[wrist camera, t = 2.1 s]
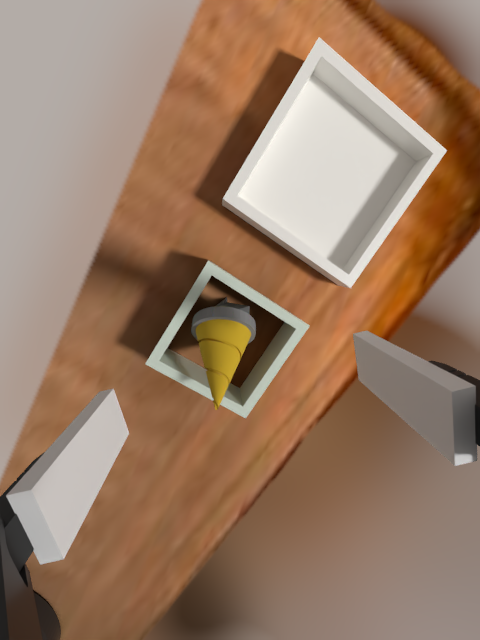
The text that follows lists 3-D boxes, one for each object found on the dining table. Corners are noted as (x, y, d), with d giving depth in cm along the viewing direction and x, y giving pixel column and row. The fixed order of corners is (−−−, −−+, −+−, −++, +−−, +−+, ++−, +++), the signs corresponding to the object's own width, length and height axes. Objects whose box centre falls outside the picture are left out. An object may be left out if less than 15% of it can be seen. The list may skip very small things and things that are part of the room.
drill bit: (265, 306, 26) (265, 416, 21) (216, 317, 28) (204, 419, 23) (240, 271, 22) (232, 395, 17) (185, 287, 24) (162, 402, 19)
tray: (337, 285, 26) (350, 288, 23) (222, 204, 24) (222, 198, 21) (423, 161, 24) (447, 150, 22) (307, 61, 22) (318, 37, 19)
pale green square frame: (242, 398, 28) (245, 418, 24) (154, 350, 26) (145, 364, 22) (297, 317, 26) (309, 325, 23) (209, 260, 24) (208, 260, 21)
